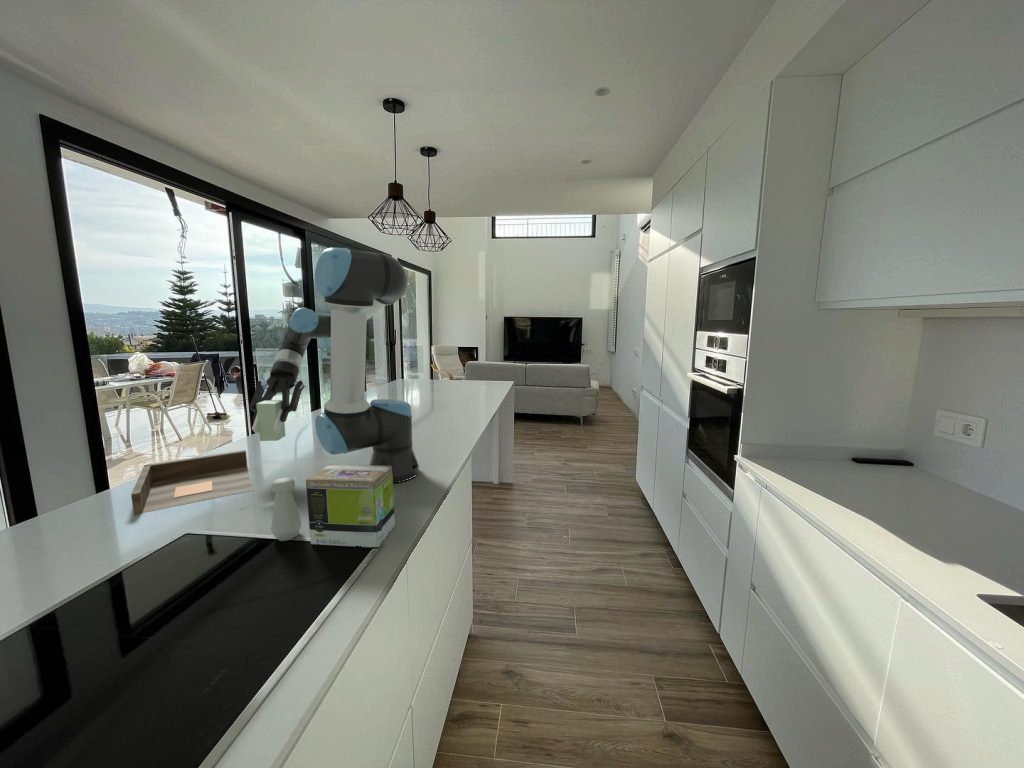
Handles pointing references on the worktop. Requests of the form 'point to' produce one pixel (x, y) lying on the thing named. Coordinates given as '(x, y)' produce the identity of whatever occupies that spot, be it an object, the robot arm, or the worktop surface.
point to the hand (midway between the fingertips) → (265, 430)
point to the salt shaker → (285, 510)
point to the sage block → (269, 420)
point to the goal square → (193, 489)
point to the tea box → (350, 505)
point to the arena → (190, 480)
